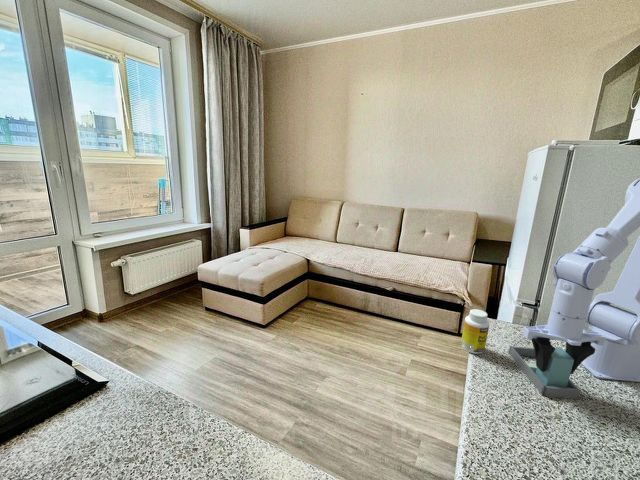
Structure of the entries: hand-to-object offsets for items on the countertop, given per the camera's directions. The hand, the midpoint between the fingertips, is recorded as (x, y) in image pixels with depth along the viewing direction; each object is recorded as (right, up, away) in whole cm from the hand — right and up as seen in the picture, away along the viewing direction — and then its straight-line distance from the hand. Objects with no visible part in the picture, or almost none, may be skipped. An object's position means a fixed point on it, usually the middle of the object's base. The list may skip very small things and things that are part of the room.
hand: (553, 369), depth 65 cm
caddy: (0, -3, +5) cm, 5 cm away
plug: (0, -4, +1) cm, 4 cm away
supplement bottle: (-11, 0, +14) cm, 17 cm away
